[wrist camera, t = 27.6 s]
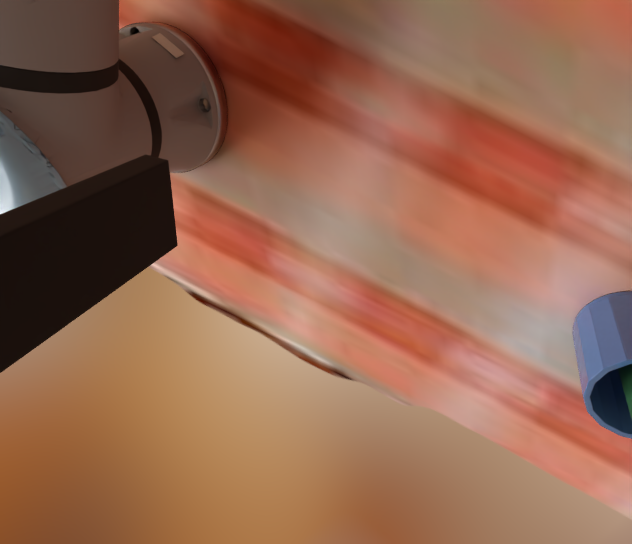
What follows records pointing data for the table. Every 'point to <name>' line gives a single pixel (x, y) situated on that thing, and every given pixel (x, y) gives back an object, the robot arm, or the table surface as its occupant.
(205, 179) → the table surface
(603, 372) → the tumbler
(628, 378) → the stick
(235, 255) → the table surface
